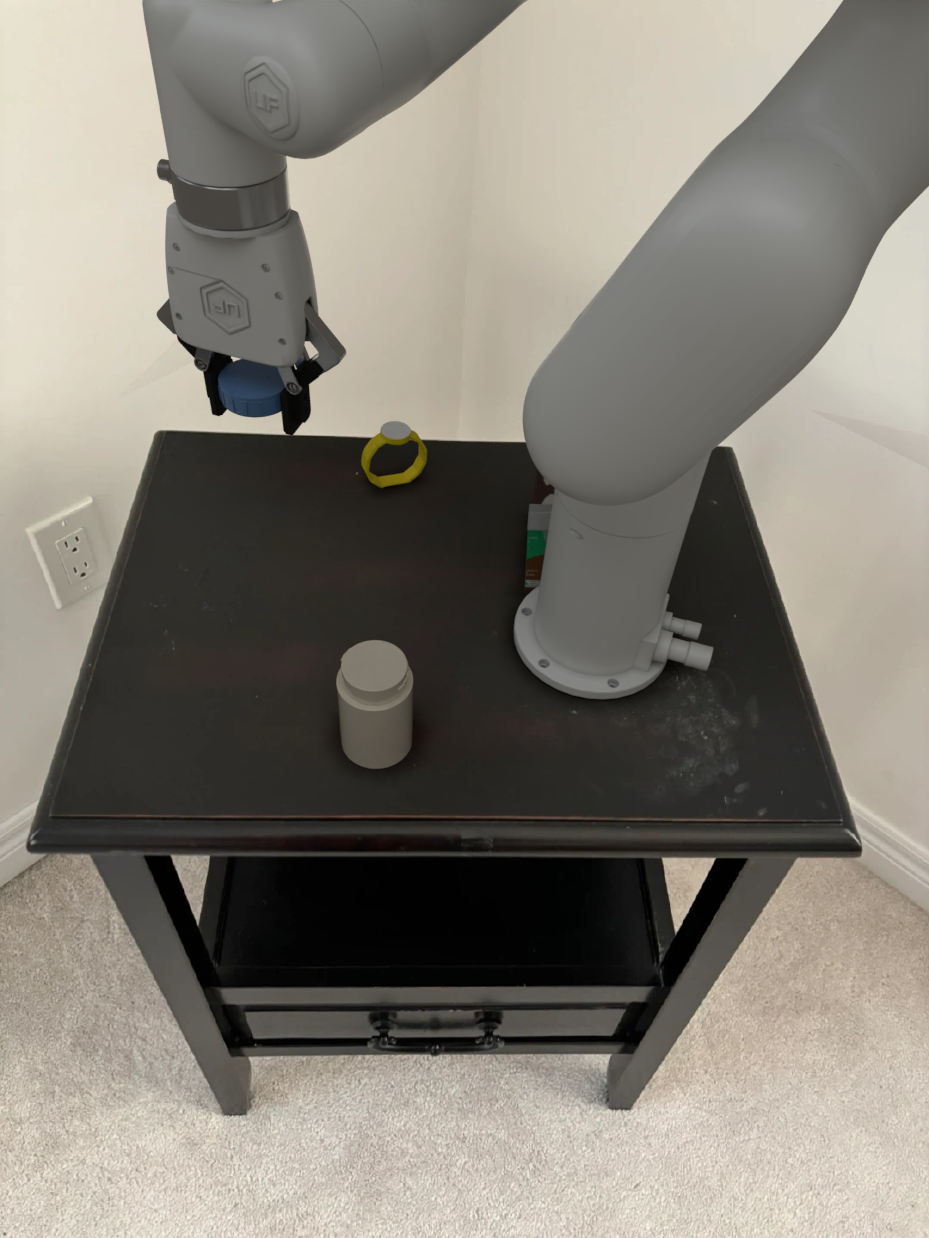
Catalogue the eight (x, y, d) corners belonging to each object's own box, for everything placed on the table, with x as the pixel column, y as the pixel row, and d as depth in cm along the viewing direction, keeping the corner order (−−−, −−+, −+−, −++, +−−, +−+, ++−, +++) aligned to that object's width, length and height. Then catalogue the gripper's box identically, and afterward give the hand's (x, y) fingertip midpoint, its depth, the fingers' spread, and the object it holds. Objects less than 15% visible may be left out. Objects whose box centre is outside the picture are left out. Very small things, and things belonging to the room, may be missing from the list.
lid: (207, 407, 73) (203, 388, 71) (242, 369, 76) (239, 350, 75) (274, 425, 72) (271, 405, 70) (306, 385, 75) (304, 366, 74)
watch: (368, 497, 86) (367, 445, 82) (359, 479, 88) (357, 427, 83) (429, 484, 88) (430, 432, 83) (418, 466, 89) (419, 414, 85)
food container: (596, 612, 77) (610, 515, 70) (522, 605, 78) (528, 508, 71) (602, 521, 86) (614, 427, 79) (535, 515, 86) (542, 422, 79)
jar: (422, 722, 69) (424, 647, 63) (397, 778, 66) (396, 705, 60) (357, 702, 70) (353, 626, 64) (329, 756, 67) (321, 682, 60)
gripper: (86, 189, 61) (141, 416, 75) (327, 243, 58) (339, 469, 72) (148, 147, 66) (189, 368, 79) (373, 195, 63) (376, 415, 77)
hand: (260, 414), depth 75 cm, fingers closed on lid, 5 cm apart
